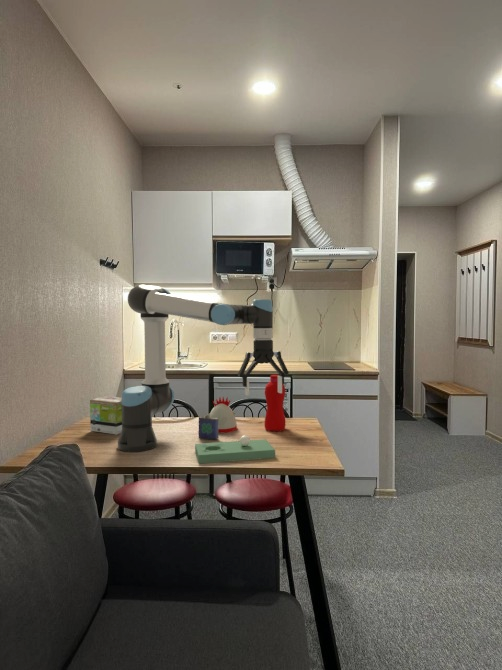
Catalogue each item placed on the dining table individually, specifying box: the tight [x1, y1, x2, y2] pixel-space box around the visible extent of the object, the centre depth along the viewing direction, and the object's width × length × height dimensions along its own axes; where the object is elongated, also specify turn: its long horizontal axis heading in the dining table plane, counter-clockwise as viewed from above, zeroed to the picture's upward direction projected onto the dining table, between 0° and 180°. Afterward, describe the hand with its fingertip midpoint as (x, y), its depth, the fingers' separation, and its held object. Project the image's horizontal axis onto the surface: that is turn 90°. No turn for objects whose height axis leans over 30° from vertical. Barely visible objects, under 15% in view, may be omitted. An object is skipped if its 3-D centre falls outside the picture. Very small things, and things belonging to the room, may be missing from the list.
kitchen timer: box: [209, 396, 238, 434], centre depth 204 cm, size 14×14×15 cm
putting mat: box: [194, 438, 276, 464], centre depth 166 cm, size 28×14×3 cm, turn 102°
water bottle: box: [264, 374, 286, 432], centre depth 203 cm, size 9×11×25 cm
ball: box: [238, 434, 251, 446], centre depth 167 cm, size 4×4×4 cm
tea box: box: [89, 395, 122, 436], centre depth 201 cm, size 15×10×15 cm, turn 68°
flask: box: [198, 413, 219, 441], centre depth 188 cm, size 9×3×11 cm, turn 68°
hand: (263, 393), depth 172 cm, fingers open, 13 cm apart
